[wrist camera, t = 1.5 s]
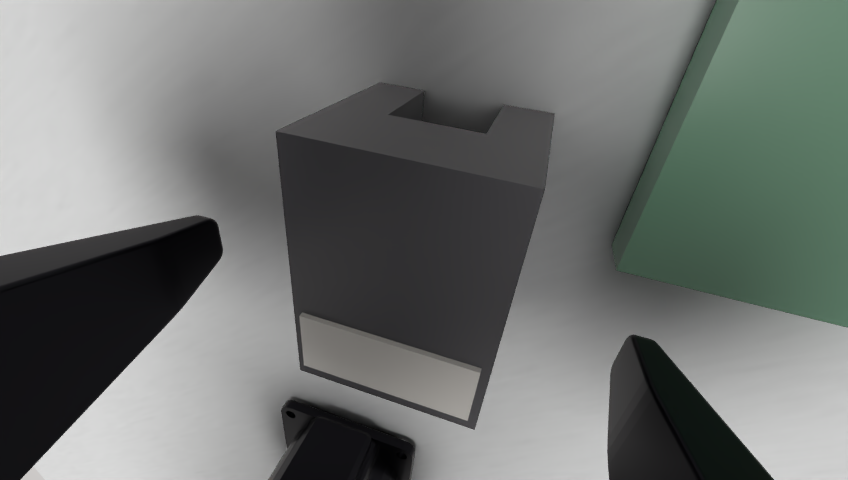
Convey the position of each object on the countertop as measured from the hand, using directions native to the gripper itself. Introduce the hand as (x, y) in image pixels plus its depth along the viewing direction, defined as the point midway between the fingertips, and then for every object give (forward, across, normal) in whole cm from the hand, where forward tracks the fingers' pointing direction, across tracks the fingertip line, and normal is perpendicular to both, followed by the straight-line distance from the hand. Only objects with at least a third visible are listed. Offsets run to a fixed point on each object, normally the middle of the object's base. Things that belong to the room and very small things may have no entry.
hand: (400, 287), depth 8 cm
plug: (+4, 0, 0) cm, 4 cm away
